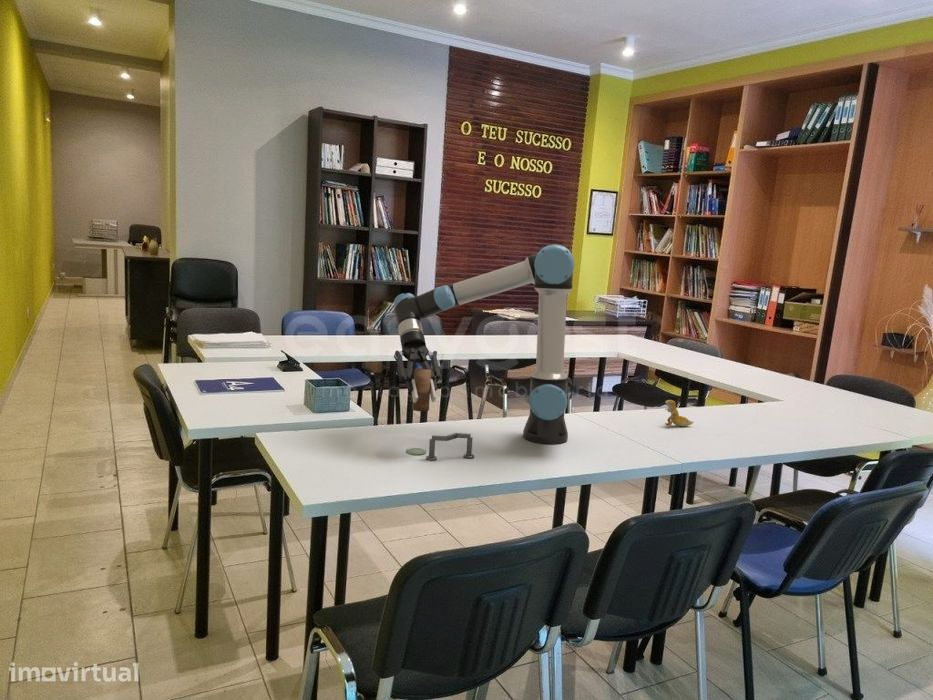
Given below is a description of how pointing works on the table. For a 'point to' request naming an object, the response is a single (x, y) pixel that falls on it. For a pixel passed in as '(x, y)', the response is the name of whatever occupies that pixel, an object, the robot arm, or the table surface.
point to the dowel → (422, 389)
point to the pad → (416, 451)
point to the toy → (676, 416)
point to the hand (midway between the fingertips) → (425, 399)
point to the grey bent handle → (447, 438)
